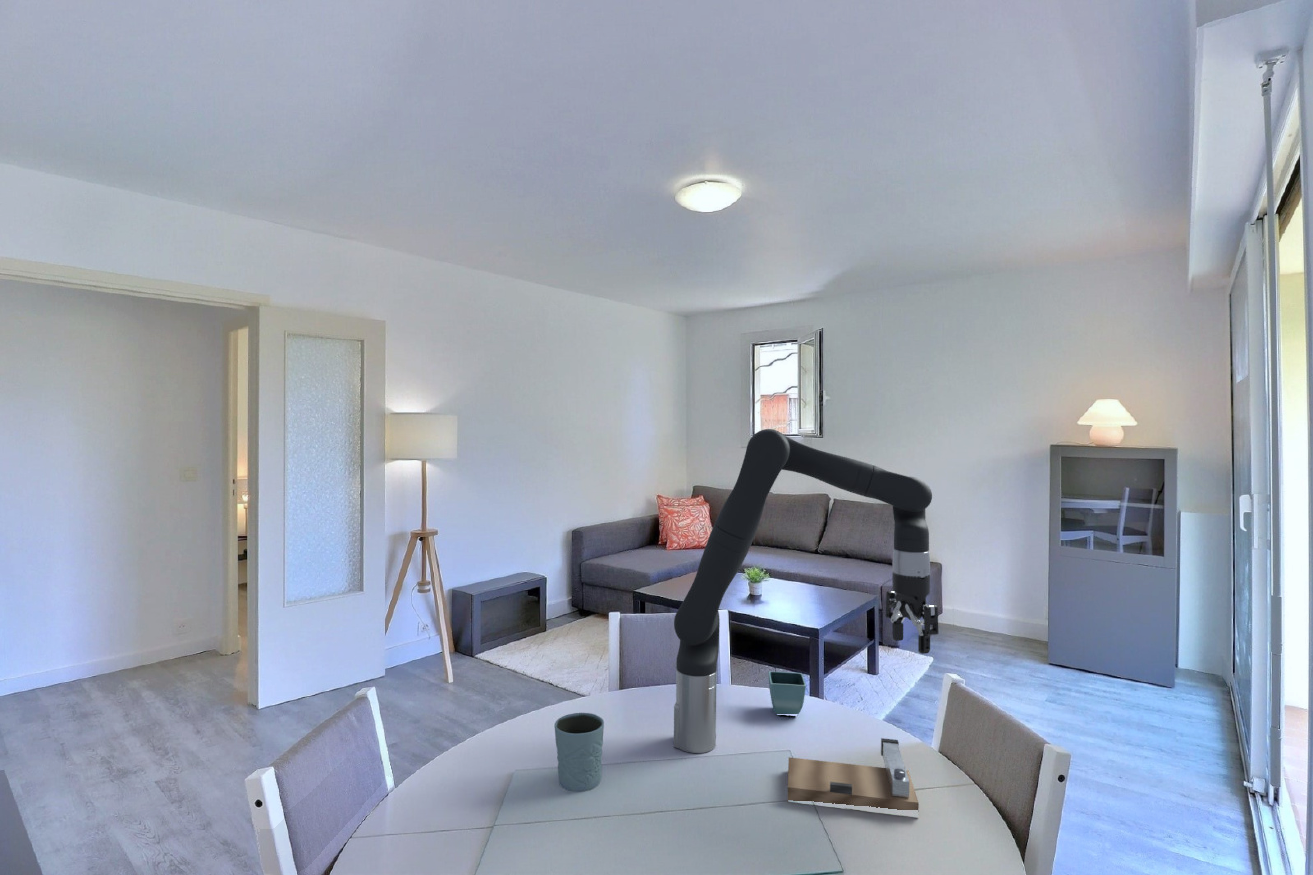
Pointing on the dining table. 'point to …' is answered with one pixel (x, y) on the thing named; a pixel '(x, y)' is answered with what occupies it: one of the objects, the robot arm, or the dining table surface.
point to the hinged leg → (895, 768)
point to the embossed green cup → (579, 751)
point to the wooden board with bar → (845, 785)
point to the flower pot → (787, 692)
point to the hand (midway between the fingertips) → (910, 646)
